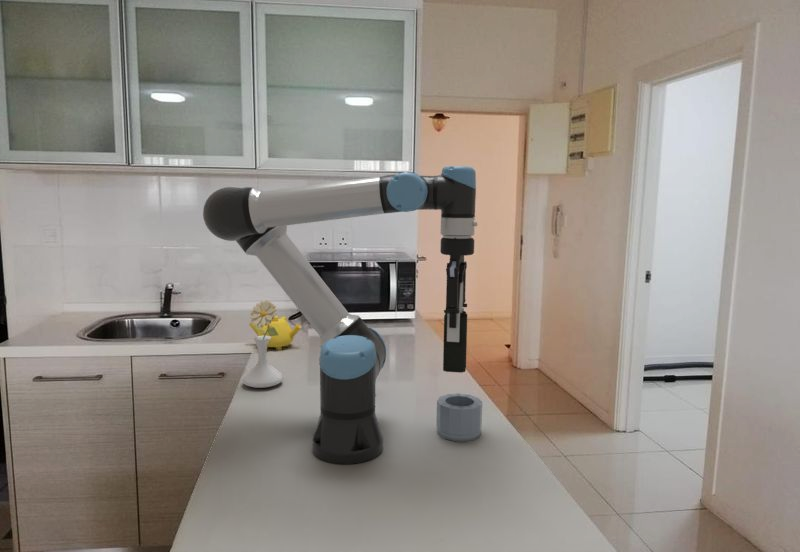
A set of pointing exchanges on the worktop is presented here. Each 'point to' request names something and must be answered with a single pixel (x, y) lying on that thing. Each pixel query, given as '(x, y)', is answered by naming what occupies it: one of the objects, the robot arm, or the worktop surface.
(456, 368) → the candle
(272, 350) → the worktop surface
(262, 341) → the flower in vase
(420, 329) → the worktop surface
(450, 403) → the pale blue faceted cup
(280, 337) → the teapot
